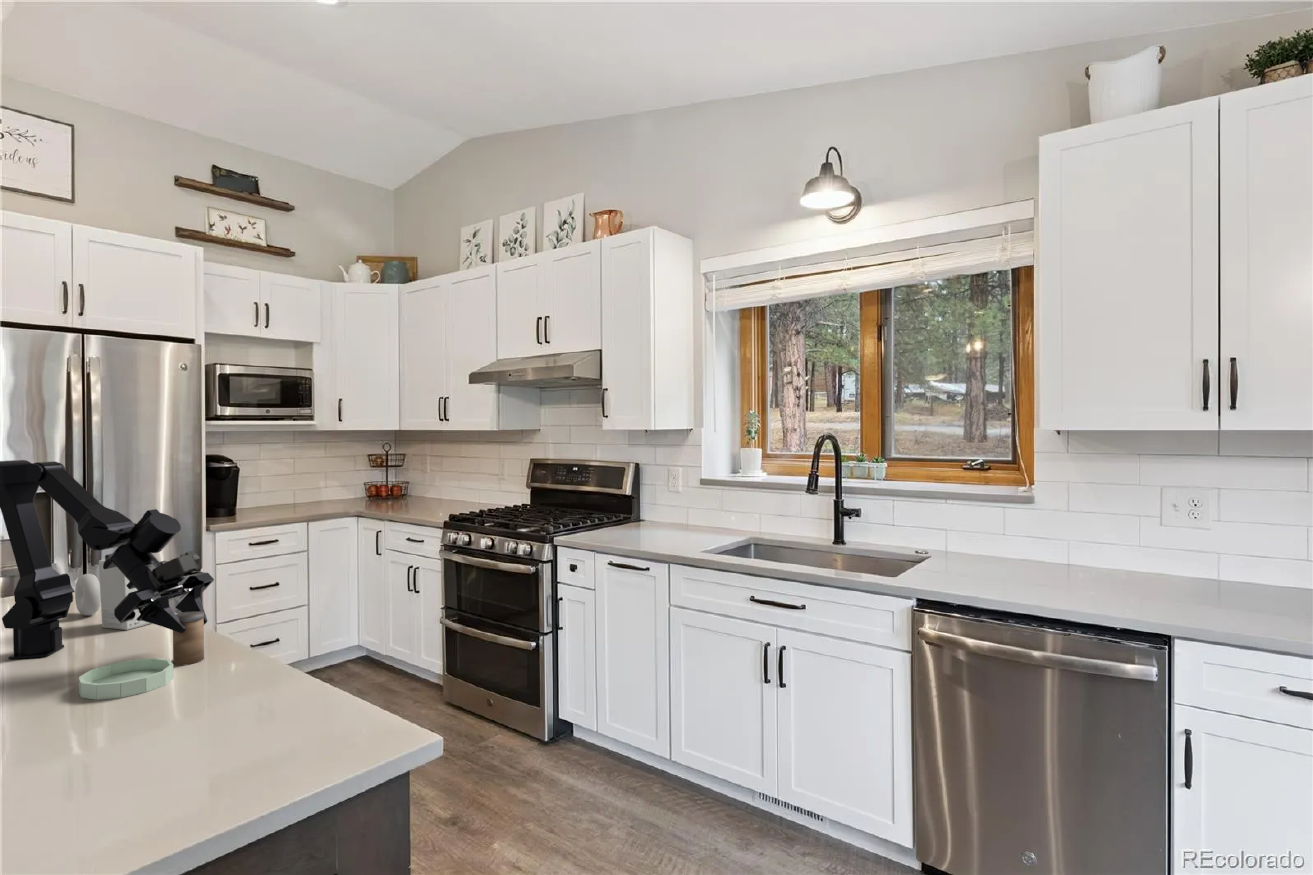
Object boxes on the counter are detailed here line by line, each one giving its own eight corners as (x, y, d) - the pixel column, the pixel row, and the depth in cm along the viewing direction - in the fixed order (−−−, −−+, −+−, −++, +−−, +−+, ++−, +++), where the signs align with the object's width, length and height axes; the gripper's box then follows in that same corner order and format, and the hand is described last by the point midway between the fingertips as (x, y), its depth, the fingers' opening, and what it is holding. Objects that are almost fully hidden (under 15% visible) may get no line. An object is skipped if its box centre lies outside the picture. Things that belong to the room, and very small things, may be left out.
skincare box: (154, 623, 161) (153, 556, 161) (124, 631, 155) (123, 561, 155) (128, 620, 164) (128, 553, 164) (98, 627, 158) (97, 559, 158)
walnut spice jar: (167, 666, 133) (167, 619, 133) (179, 657, 138) (178, 612, 138) (198, 664, 134) (198, 617, 134) (208, 655, 139) (208, 610, 139)
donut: (103, 617, 166) (103, 575, 166) (85, 620, 164) (84, 578, 163) (91, 610, 172) (90, 570, 172) (73, 613, 170) (72, 572, 169)
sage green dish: (63, 702, 116) (62, 687, 116) (103, 675, 128) (103, 661, 128) (153, 695, 119) (153, 680, 119) (184, 669, 132) (184, 655, 132)
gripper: (127, 549, 127) (183, 612, 126) (205, 533, 145) (254, 587, 144) (88, 591, 128) (144, 653, 127) (170, 570, 147) (220, 624, 145)
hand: (194, 627), depth 136 cm, fingers closed on walnut spice jar, 5 cm apart
